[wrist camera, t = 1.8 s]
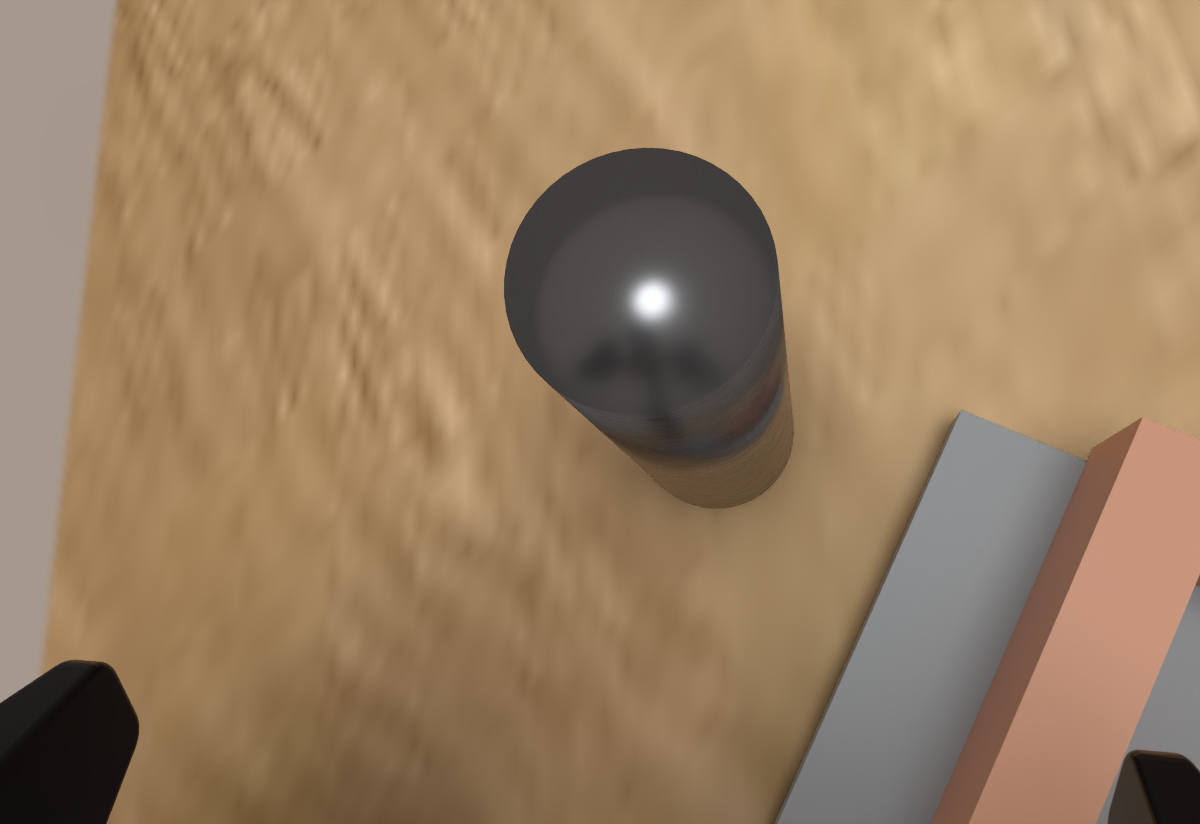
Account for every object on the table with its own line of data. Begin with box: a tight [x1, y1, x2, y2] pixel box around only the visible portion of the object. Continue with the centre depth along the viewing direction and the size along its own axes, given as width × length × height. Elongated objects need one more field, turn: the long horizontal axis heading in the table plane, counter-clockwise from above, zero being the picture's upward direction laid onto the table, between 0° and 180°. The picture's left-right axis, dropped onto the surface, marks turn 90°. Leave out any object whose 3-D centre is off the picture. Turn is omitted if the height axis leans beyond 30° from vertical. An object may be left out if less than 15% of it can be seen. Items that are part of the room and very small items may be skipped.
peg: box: [504, 148, 794, 508], centre depth 17 cm, size 3×3×10 cm
